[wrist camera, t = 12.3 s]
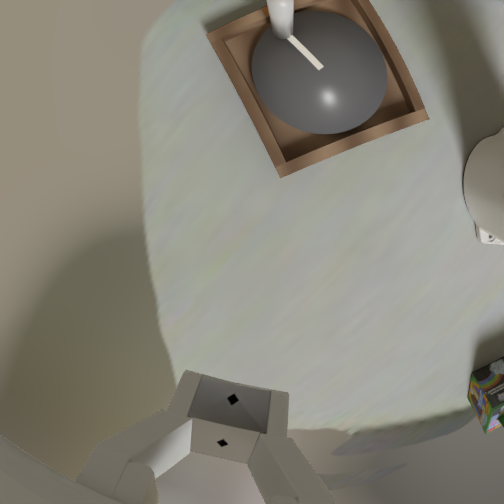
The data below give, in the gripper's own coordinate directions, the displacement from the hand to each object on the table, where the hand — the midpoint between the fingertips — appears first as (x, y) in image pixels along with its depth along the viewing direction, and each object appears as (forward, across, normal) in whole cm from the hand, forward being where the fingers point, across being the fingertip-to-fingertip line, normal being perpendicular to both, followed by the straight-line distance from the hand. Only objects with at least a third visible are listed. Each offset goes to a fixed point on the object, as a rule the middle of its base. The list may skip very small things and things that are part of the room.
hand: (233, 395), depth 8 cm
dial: (+31, -2, -16) cm, 35 cm away
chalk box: (+33, -52, +26) cm, 67 cm away
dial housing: (+33, -2, -16) cm, 37 cm away
